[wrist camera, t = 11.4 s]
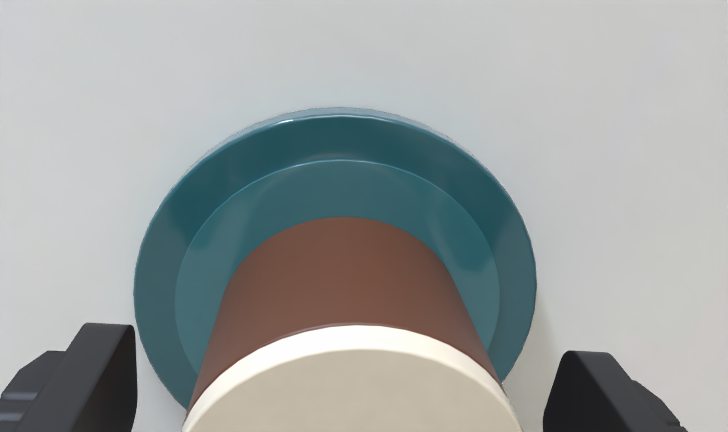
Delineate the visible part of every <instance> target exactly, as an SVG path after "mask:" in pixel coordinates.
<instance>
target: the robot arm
mask: <svg viewBox="0 0 728 432" xmlns="http://www.w3.org/2000/svg"><path fill="white" fill-rule="evenodd" d="M136 408H137V368H136V342H135V330H134V327H133V326H132V325H121V324H103V323H85V324H84V325H83V326H82V328H81V329H80V331H79V332H78V334H77V335H76V336H75V338H74V339H73V341H72V342H71V344H70V345H69V347H68V348H67V350H66V351H47V352H45V353H44V354H42V355H41V356H39V357H38V358H36V359H35V360H33V361H32V362H30V363H29V364H28V365H26V366H25V367H23V368H22V369H20V370H19V371H18V373H17V374H16V375H15V377H14V378H13V379H12V381H11V382H10V383H9V385H8V386H7V387H6V389H5V390H4V391H3V392H2V394H1V398H0V432H131V430H132V427H133V423H134V419H135V414H136ZM543 432H688V431H687V430H686V429H685V428H684V427H681V426H680V422H679V420H678V419H677V418H676V417H675V416H674V414H673V413H672V412H671V411H670V410H669V408H668V407H667V406H666V405H665V404H664V402H663V401H662V400H661V399H659V398H658V397H657V396H655V395H654V394H653V393H652V392H650V391H649V390H648V389H646V388H645V387H644V386H642V385H641V384H640V383H638V382H637V381H634V380H631V378H630V377H629V376H628V375H627V373H626V372H625V371H624V370H623V368H622V367H621V366H620V365H619V363H618V362H617V361H616V360H615V358H614V357H613V356H612V355H610V354H609V353H605V352H587V351H567V352H566V353H565V354H564V355H563V356H562V358H561V361H560V364H559V367H558V370H557V373H556V376H555V380H554V383H553V386H552V389H551V392H550V395H549V398H548V401H547V405H546V408H545V411H544V416H543Z"/></svg>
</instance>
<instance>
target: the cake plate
mask: <svg viewBox="0 0 728 432" xmlns="http://www.w3.org/2000/svg"><path fill="white" fill-rule="evenodd" d="M329 217H359V218H366V219H371V220H377V221H380V222H383V223H387V224H390V225H393V226H395V227H397V228H399V229H402V230H404V231H406V232H408V233H410V234H411V235H413V236H414V237H416V238H417V239H419V240H421V241H422V242H423V243H424V244H425V245H427V246H428V247H429V248H430V249H431V250H432V251H433V252H434V253H435V254H436V255H437V256H438V257H439V258H440V260H441V261H442V262H443V263H444V265H445V267H446V268H447V270H448V271H449V273H450V274H451V277H452V279H453V281H454V283H455V285H456V287H457V290H458V292H459V294H460V296H461V298H462V300H463V303H464V305H465V307H466V309H467V311H468V313H469V316H470V318H471V320H472V322H473V324H474V326H475V328H476V331H477V333H478V335H479V337H480V339H481V341H482V344H483V346H484V348H485V350H486V352H487V354H488V357H489V359H490V361H491V363H492V365H493V367H494V370H495V372H496V374H497V376H498V378H499V380H500V382H501V383H502V382H503V380H504V379H505V378H506V376H507V375H508V373H509V372H510V371H511V369H512V367H513V366H514V364H515V362H516V360H517V358H518V356H519V355H520V353H521V351H522V349H523V346H524V343H525V341H526V338H527V336H528V333H529V331H530V327H531V322H532V318H533V314H534V310H535V300H536V289H537V279H536V263H535V258H534V253H533V248H532V244H531V239H530V237H529V234H528V232H527V229H526V226H525V224H524V221H523V218H522V216H521V215H520V213H519V211H518V209H517V208H516V206H515V204H514V202H513V201H512V199H511V197H510V196H509V194H508V193H507V192H506V191H505V189H504V188H503V187H502V185H501V184H500V183H499V182H498V180H497V179H496V178H495V177H494V176H493V174H492V173H491V172H490V171H489V170H488V169H487V168H486V167H485V166H484V165H483V164H482V163H481V162H479V161H478V160H477V159H476V158H475V157H474V156H473V155H472V154H471V153H470V152H469V151H468V150H466V149H465V148H463V147H462V146H460V145H459V144H458V143H456V142H455V141H453V140H452V139H450V138H449V137H448V136H446V135H444V134H442V133H440V132H438V131H436V130H434V129H432V128H430V127H428V126H426V125H424V124H422V123H419V122H416V121H413V120H410V119H408V118H405V117H402V116H399V115H395V114H391V113H386V112H381V111H376V110H371V109H360V108H346V107H334V108H318V109H308V110H303V111H298V112H293V113H288V114H283V115H280V116H277V117H274V118H271V119H268V120H265V121H262V122H259V123H256V124H254V125H252V126H250V127H248V128H246V129H244V130H242V131H240V132H238V133H236V134H234V135H232V136H230V137H228V138H227V139H225V140H224V141H222V142H221V143H219V144H218V145H216V146H215V147H214V148H212V149H211V150H209V151H208V152H206V153H205V154H204V155H203V156H202V157H201V158H200V159H199V160H198V161H197V162H195V163H194V164H193V165H192V166H191V167H190V168H189V169H188V170H187V171H186V172H185V173H184V174H183V176H182V177H181V178H180V179H179V180H178V182H177V183H176V184H175V185H174V187H173V188H172V189H171V190H170V192H169V193H168V194H167V196H166V197H165V198H164V200H163V202H162V203H161V205H160V207H159V208H158V210H157V212H156V213H155V215H154V216H153V218H152V220H151V221H150V224H149V226H148V229H147V231H146V234H145V236H144V238H143V241H142V243H141V246H140V250H139V255H138V259H137V263H136V267H135V276H134V290H133V296H134V309H135V318H136V322H137V326H138V331H139V335H140V339H141V342H142V344H143V347H144V349H145V352H146V354H147V357H148V359H149V362H150V363H151V365H152V367H153V368H154V370H155V372H156V374H157V375H158V377H159V379H160V380H161V382H162V383H163V384H164V386H165V387H166V388H167V389H168V391H169V392H170V393H171V395H172V396H173V397H174V398H175V399H176V400H177V401H178V402H179V403H180V404H181V405H182V406H183V407H184V408H185V409H186V410H187V411H188V408H189V404H190V401H191V398H192V395H193V391H194V388H195V385H196V382H197V378H198V375H199V372H200V369H201V366H202V362H203V359H204V356H205V353H206V349H207V346H208V343H209V340H210V336H211V333H212V330H213V327H214V324H215V320H216V317H217V314H218V311H219V307H220V304H221V301H222V298H223V295H224V291H225V289H226V287H227V285H228V283H229V281H230V279H231V277H232V275H233V274H234V272H235V271H236V269H237V268H238V266H239V265H240V263H241V262H242V261H243V260H244V259H245V258H246V257H247V256H248V255H249V254H250V253H251V252H252V251H253V250H254V249H255V248H257V247H258V246H259V245H260V244H261V243H263V242H264V241H266V240H267V239H269V238H270V237H272V236H274V235H275V234H277V233H279V232H281V231H283V230H285V229H288V228H290V227H292V226H295V225H298V224H301V223H304V222H307V221H311V220H317V219H322V218H329Z"/></svg>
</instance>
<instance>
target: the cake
mask: <svg viewBox="0 0 728 432" xmlns="http://www.w3.org/2000/svg"><path fill="white" fill-rule="evenodd" d="M181 432H523V430H522V428H521V426H520V424H519V421H518V419H517V417H516V415H515V413H514V411H513V408H512V406H511V404H510V402H509V400H508V398H507V396H506V393H505V391H504V389H503V387H502V385H501V382H500V380H499V378H498V376H497V374H496V372H495V370H494V367H493V365H492V363H491V361H490V359H489V357H488V354H487V352H486V350H485V348H484V346H483V344H482V341H481V339H480V337H479V335H478V333H477V331H476V328H475V326H474V324H473V322H472V320H471V318H470V316H469V313H468V311H467V309H466V307H465V305H464V303H463V300H462V298H461V296H460V294H459V292H458V290H457V287H456V285H455V283H454V281H453V279H452V277H451V274H450V273H449V271H448V270H447V268H446V267H445V265H444V263H443V262H442V261H441V260H440V258H439V257H438V256H437V255H436V254H435V253H434V252H433V251H432V250H431V249H430V248H429V247H428V246H427V245H425V244H424V243H423V242H422V241H421V240H419V239H417V238H416V237H414V236H413V235H411V234H410V233H408V232H406V231H404V230H402V229H399V228H397V227H395V226H393V225H390V224H387V223H383V222H380V221H377V220H371V219H366V218H359V217H329V218H322V219H317V220H311V221H307V222H304V223H301V224H298V225H295V226H292V227H290V228H288V229H285V230H283V231H281V232H279V233H277V234H275V235H274V236H272V237H270V238H269V239H267V240H266V241H264V242H263V243H261V244H260V245H259V246H258V247H257V248H255V249H254V250H253V251H252V252H251V253H250V254H249V255H248V256H247V257H246V258H245V259H244V260H243V261H242V262H241V263H240V265H239V266H238V268H237V269H236V271H235V272H234V274H233V275H232V277H231V279H230V281H229V283H228V285H227V287H226V289H225V291H224V295H223V298H222V301H221V304H220V307H219V311H218V314H217V317H216V320H215V324H214V327H213V330H212V333H211V336H210V340H209V343H208V346H207V349H206V353H205V356H204V359H203V362H202V366H201V369H200V372H199V375H198V378H197V382H196V385H195V388H194V391H193V395H192V398H191V401H190V404H189V408H188V411H187V414H186V417H185V420H184V424H183V427H182V430H181Z"/></svg>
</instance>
